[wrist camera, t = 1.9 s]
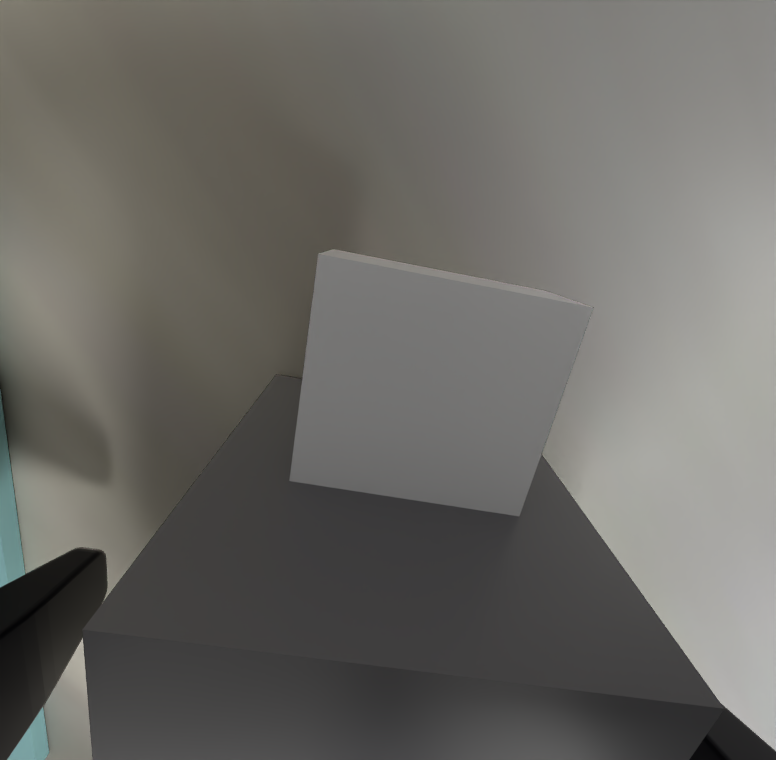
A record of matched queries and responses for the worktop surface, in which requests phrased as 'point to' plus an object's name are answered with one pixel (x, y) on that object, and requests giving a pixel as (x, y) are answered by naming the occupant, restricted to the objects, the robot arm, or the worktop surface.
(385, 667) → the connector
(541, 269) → the worktop surface
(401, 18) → the worktop surface
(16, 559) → the mat
